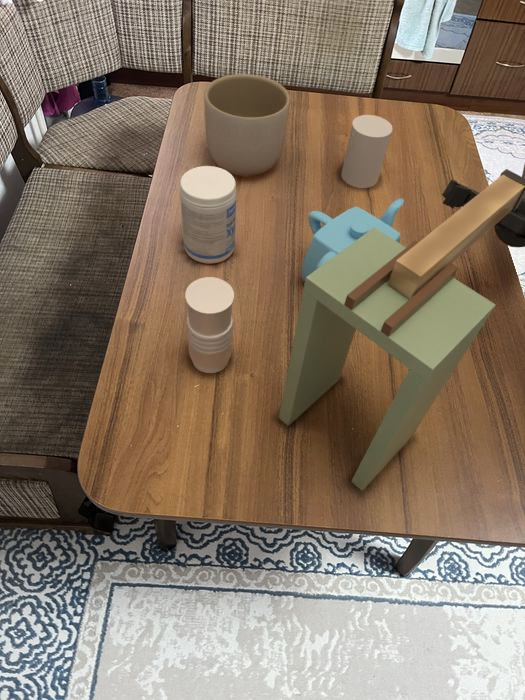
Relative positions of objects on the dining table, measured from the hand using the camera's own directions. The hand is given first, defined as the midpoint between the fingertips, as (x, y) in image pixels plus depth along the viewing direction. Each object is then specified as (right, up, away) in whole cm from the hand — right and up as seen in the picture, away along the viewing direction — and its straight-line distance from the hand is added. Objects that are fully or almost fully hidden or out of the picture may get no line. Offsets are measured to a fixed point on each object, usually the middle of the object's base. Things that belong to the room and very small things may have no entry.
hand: (494, 220), depth 69 cm
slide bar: (-8, -5, -8) cm, 12 cm away
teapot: (-14, -4, +30) cm, 33 cm away
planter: (-34, +24, +49) cm, 64 cm away
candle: (-38, -18, +17) cm, 46 cm away
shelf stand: (-18, -28, +11) cm, 35 cm away
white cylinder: (-9, +21, +49) cm, 54 cm away
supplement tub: (-40, +2, +32) cm, 51 cm away
